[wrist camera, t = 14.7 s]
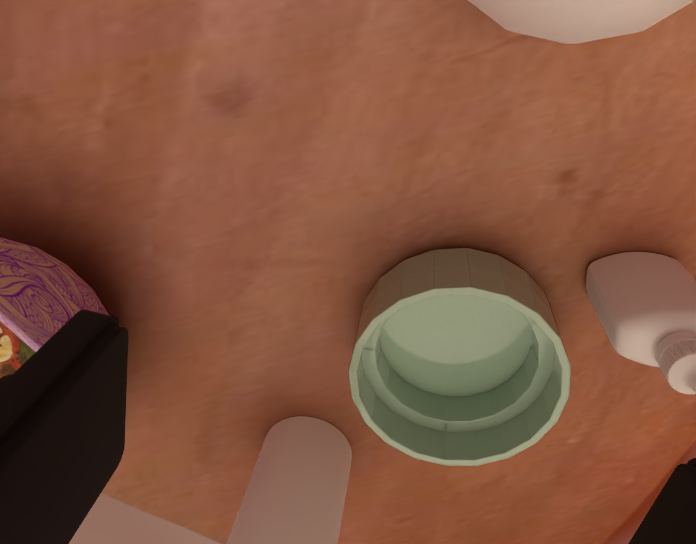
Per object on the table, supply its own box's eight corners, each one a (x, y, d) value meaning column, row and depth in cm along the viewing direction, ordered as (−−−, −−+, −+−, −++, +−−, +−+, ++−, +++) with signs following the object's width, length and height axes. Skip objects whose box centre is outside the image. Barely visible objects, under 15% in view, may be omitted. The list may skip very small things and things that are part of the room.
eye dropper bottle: (648, 319, 39) (727, 448, 29) (572, 284, 39) (623, 401, 28) (692, 265, 37) (794, 382, 27) (612, 227, 37) (684, 331, 26)
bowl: (383, 223, 39) (374, 264, 33) (582, 271, 38) (605, 319, 33) (344, 382, 45) (331, 438, 39) (516, 424, 44) (527, 486, 39)
